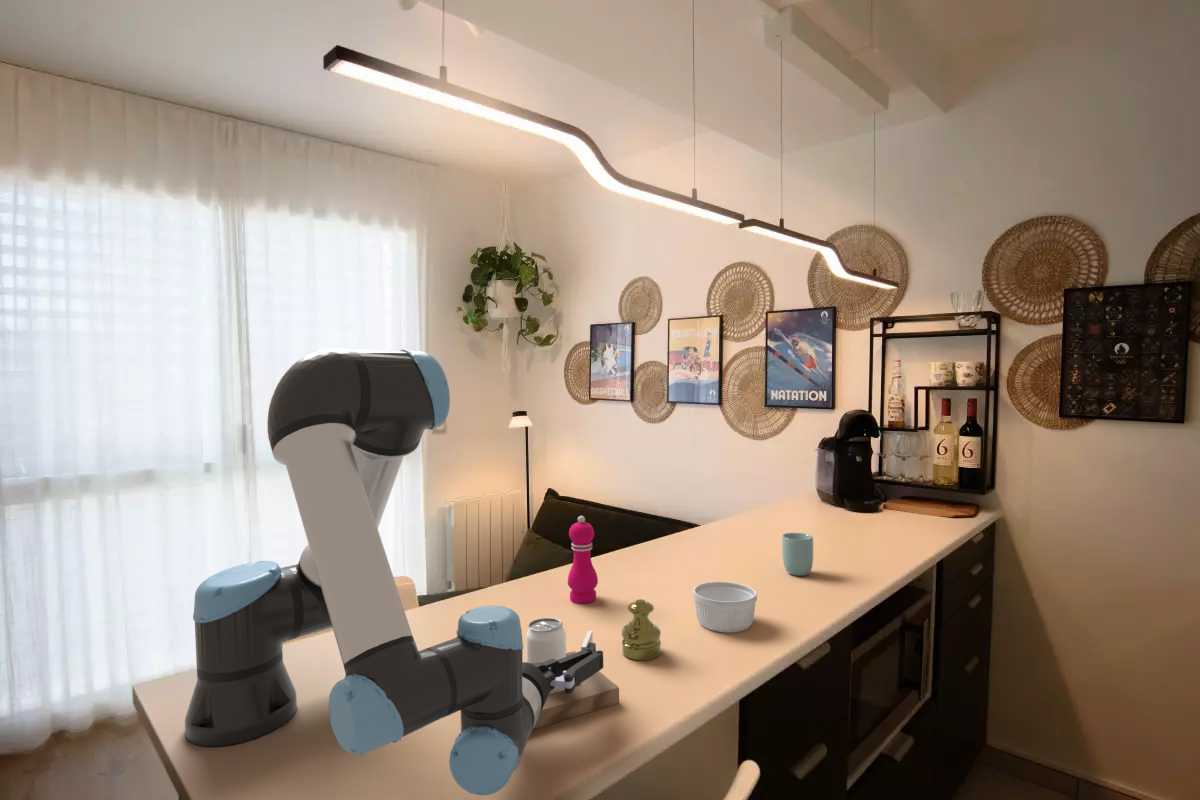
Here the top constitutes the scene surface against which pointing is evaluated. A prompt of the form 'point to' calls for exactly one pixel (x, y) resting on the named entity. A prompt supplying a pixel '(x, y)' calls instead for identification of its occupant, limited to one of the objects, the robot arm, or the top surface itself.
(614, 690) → the frame
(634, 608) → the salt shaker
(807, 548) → the cup
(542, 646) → the can
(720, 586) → the ramekin
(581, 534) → the pepper mill
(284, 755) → the top surface
